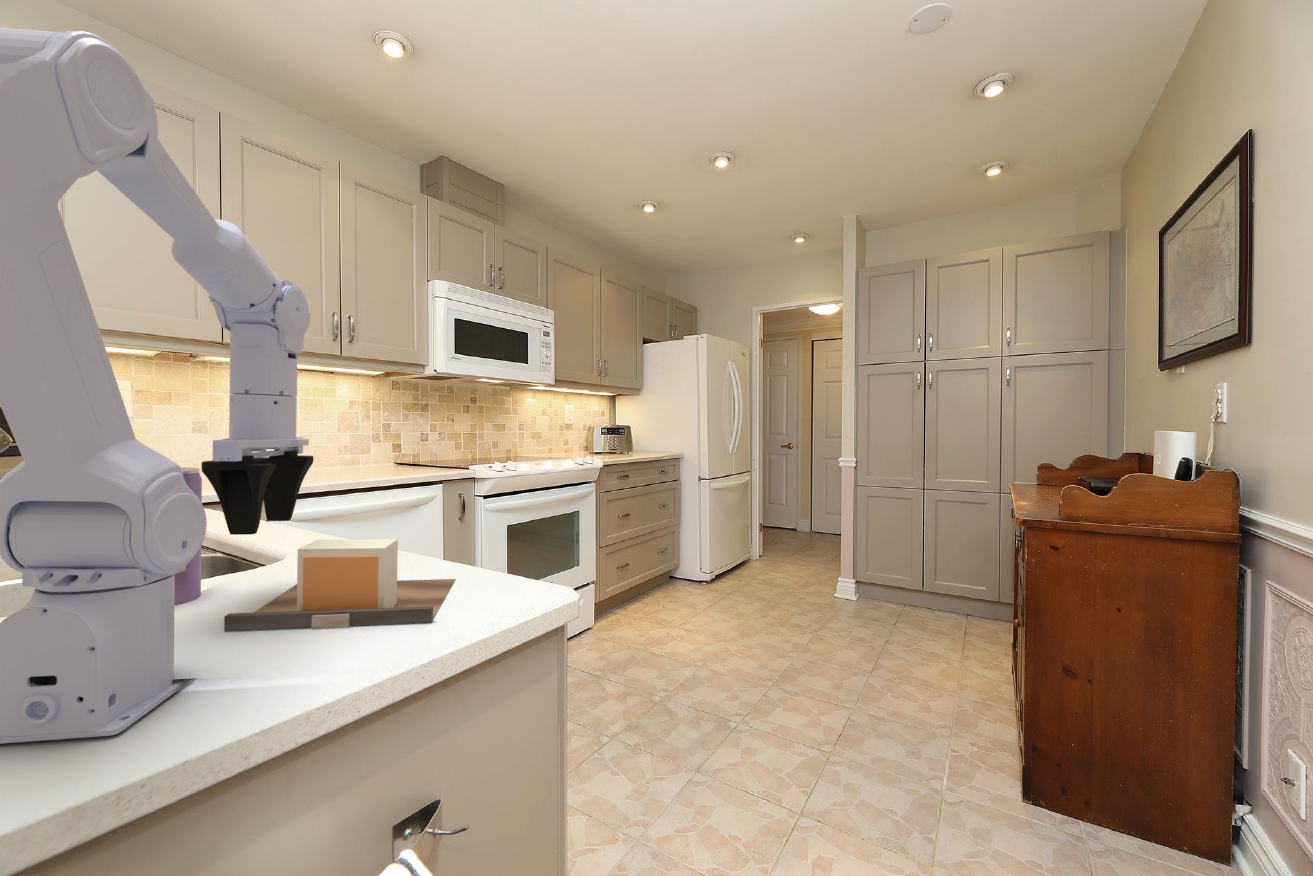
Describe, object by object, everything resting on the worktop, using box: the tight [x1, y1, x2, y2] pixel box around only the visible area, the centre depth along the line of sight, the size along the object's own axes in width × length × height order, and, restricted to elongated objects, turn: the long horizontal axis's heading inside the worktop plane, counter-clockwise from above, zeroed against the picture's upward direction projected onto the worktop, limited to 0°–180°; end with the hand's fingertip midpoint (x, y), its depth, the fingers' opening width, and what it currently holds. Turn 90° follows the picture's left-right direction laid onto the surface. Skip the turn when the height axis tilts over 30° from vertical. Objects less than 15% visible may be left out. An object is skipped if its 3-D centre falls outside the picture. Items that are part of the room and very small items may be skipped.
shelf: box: [223, 578, 457, 633], centre depth 61 cm, size 16×18×2 cm
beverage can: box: [174, 466, 203, 606], centre depth 60 cm, size 6×6×15 cm
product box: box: [296, 538, 399, 611], centre depth 58 cm, size 5×8×7 cm, turn 100°
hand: (262, 526), depth 58 cm, fingers open, 7 cm apart
